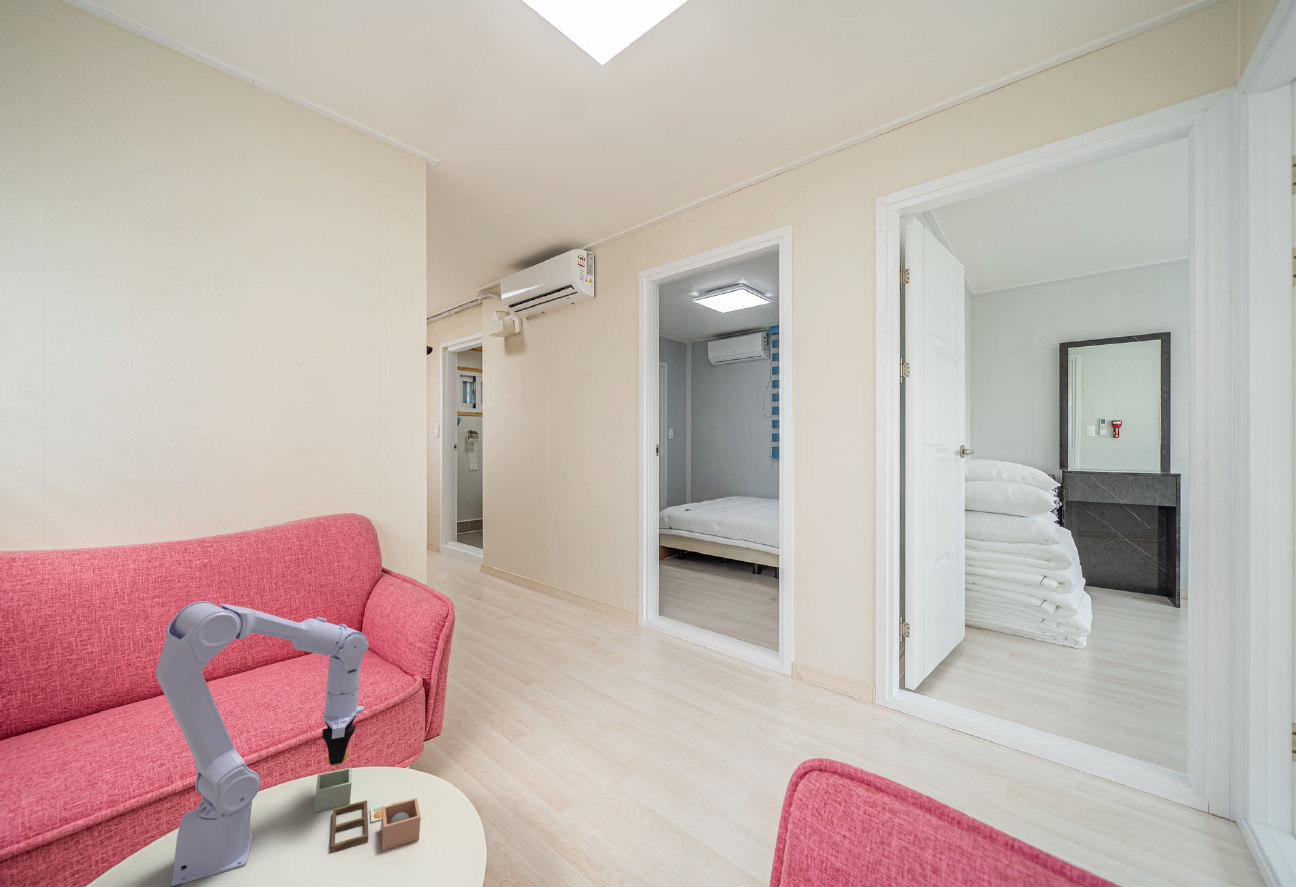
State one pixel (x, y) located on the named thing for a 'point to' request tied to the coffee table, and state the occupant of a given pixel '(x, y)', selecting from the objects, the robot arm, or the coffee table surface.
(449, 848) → the coffee table surface
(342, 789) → the sage open box
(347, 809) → the rack
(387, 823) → the pink open box
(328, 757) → the orange ball
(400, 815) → the grey ball
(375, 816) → the card
